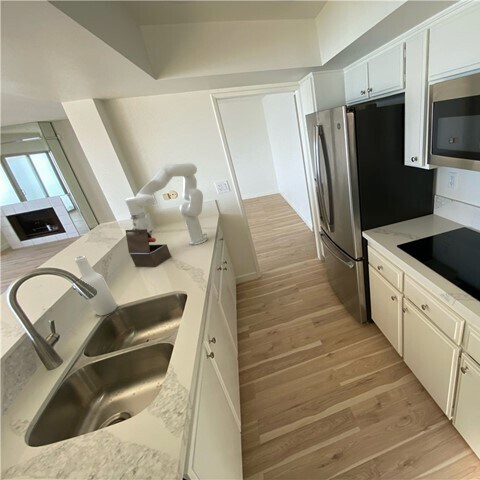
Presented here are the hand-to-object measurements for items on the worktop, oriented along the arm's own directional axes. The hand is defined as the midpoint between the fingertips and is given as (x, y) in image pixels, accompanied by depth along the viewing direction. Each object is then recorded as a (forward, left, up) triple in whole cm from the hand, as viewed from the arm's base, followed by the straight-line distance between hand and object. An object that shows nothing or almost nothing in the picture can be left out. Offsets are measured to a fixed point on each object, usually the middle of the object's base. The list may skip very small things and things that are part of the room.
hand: (148, 241), depth 179 cm
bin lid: (+7, 0, +3) cm, 8 cm away
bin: (+2, 0, -14) cm, 14 cm away
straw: (0, 0, 0) cm, 0 cm away
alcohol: (+53, +20, -14) cm, 58 cm away
